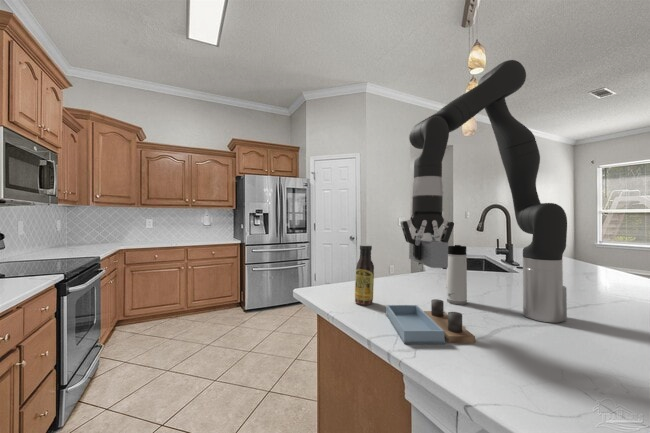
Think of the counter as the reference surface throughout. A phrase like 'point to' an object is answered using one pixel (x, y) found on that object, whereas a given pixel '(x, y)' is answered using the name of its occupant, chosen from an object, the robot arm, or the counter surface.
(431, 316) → the peg rack
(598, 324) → the counter surface
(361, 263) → the sauce bottle
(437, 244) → the steel bar
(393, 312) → the slot tray
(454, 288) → the travel mug
